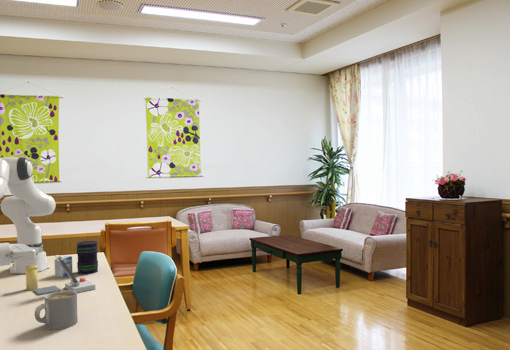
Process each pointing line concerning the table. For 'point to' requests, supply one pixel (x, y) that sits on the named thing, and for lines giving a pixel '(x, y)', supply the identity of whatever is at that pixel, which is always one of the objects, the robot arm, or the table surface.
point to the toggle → (67, 270)
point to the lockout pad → (46, 290)
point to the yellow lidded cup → (31, 277)
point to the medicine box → (59, 269)
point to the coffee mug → (58, 310)
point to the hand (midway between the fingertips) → (42, 249)
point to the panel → (80, 286)
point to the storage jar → (87, 257)
